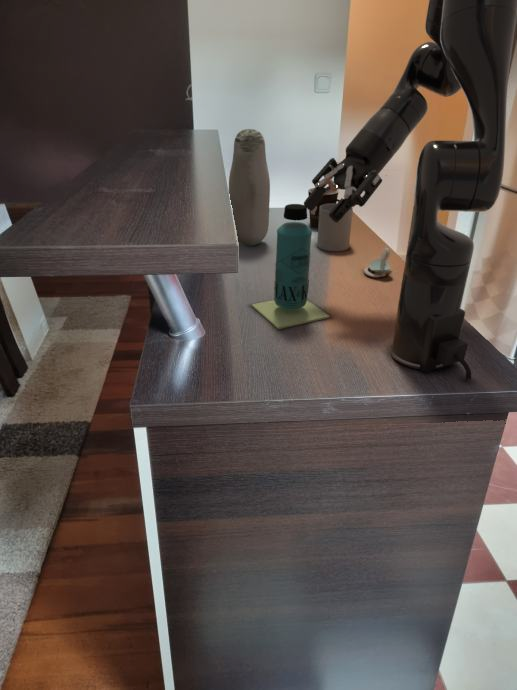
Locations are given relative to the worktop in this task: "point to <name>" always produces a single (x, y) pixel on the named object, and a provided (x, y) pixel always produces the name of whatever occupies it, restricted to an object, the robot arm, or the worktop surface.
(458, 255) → the robot arm
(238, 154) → the grey rounded tall figure
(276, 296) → the beverage bottle
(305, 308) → the pad
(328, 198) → the coffee mug
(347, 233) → the cup
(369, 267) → the pacifier
